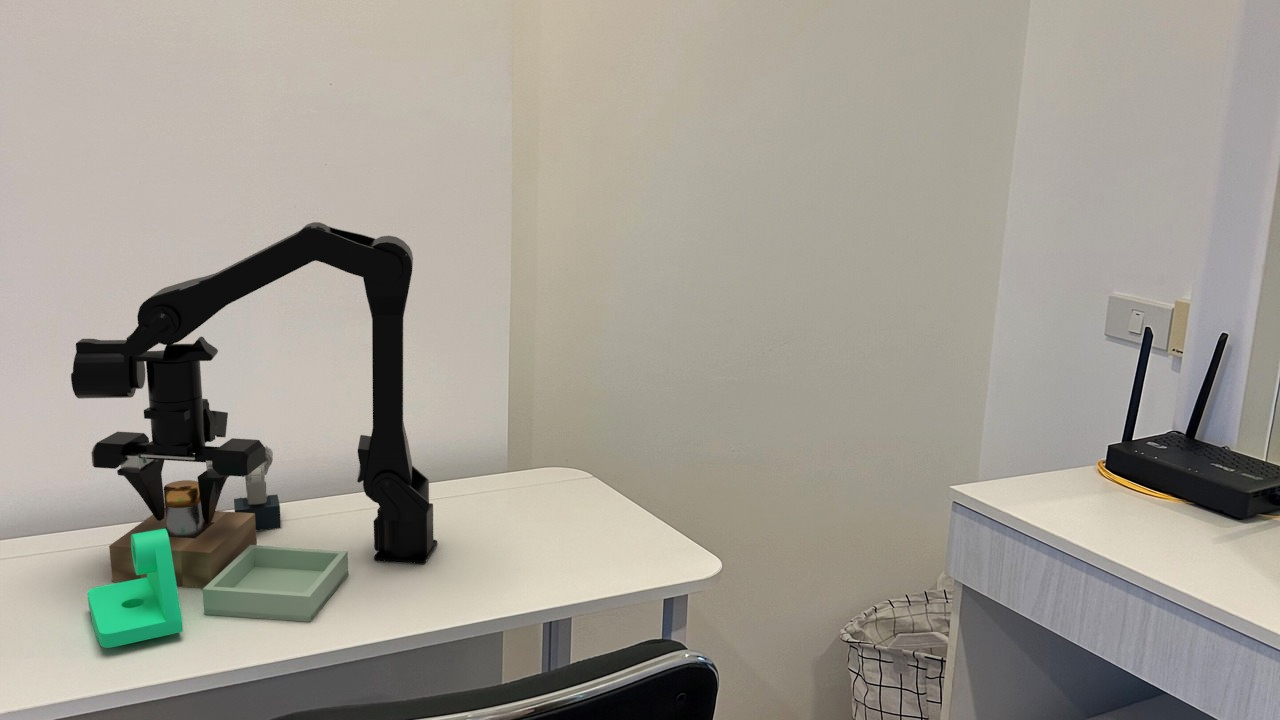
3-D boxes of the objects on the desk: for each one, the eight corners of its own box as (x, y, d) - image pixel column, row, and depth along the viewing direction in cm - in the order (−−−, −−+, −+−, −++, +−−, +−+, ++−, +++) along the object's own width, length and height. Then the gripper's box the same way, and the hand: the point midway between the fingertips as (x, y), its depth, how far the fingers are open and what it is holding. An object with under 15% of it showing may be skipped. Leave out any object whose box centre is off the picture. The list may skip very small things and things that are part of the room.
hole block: (256, 546, 134) (254, 513, 133) (212, 588, 122) (209, 552, 121) (165, 540, 135) (162, 507, 134) (112, 581, 123) (109, 545, 122)
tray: (348, 574, 127) (347, 551, 126) (310, 621, 115) (309, 596, 115) (251, 567, 128) (250, 544, 127) (204, 614, 116) (202, 589, 116)
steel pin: (211, 557, 130) (206, 481, 128) (195, 571, 126) (190, 493, 124) (179, 555, 130) (174, 479, 128) (163, 569, 127) (157, 491, 124)
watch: (277, 510, 145) (273, 434, 143) (281, 532, 138) (278, 453, 136) (233, 515, 143) (229, 438, 141) (236, 538, 136) (231, 457, 134)
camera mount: (88, 610, 117) (79, 523, 114) (163, 595, 121) (156, 511, 118) (102, 659, 107) (93, 565, 104) (183, 641, 111) (176, 550, 108)
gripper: (281, 382, 131) (287, 501, 134) (135, 374, 132) (145, 492, 136) (241, 408, 120) (248, 536, 123) (83, 399, 121) (95, 526, 125)
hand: (184, 521), depth 127 cm, fingers open, 6 cm apart
